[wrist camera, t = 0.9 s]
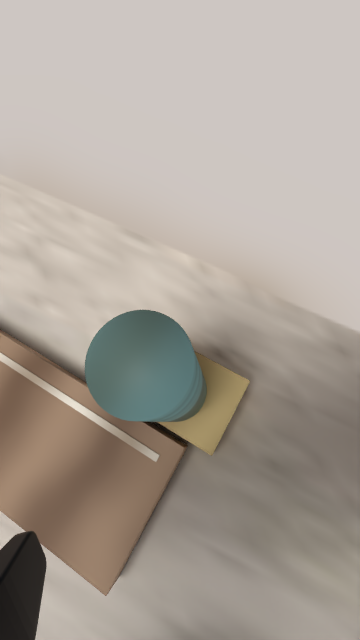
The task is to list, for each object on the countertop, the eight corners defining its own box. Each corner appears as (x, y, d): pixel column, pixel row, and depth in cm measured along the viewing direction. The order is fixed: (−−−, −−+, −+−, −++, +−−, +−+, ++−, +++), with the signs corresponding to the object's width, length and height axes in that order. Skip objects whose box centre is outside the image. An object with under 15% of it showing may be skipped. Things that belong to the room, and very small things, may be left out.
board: (188, 445, 20) (184, 448, 18) (117, 578, 18) (105, 597, 16) (-41, 303, 25) (-64, 293, 23) (-113, 398, 23) (-144, 395, 21)
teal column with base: (247, 384, 21) (274, 346, 10) (213, 452, 20) (203, 486, 9) (153, 334, 22) (94, 256, 12) (117, 394, 21) (19, 367, 11)
